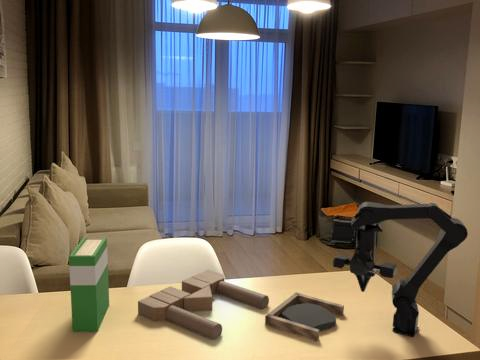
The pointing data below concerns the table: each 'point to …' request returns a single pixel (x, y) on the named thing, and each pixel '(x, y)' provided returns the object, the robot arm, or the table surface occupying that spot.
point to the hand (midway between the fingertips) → (363, 291)
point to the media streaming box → (310, 316)
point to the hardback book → (89, 284)
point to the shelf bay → (296, 328)
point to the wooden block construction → (196, 302)
